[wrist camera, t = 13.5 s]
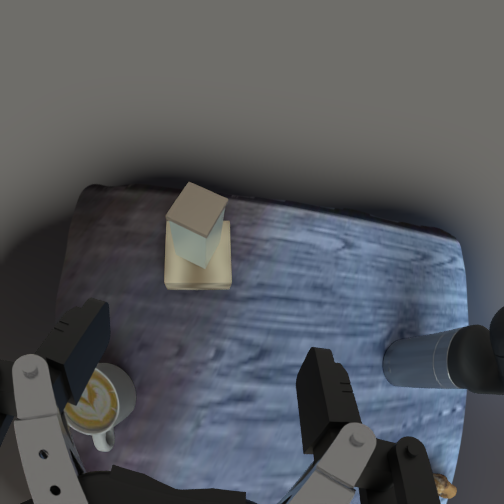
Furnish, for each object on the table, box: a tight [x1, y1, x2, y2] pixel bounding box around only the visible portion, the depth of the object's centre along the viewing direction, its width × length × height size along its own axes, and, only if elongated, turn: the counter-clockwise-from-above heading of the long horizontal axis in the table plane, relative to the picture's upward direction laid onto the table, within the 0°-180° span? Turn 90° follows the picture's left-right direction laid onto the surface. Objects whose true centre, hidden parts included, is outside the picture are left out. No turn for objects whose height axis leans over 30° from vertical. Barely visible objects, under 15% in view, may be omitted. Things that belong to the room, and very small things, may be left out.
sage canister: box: [166, 182, 228, 269], centre depth 40 cm, size 5×5×12 cm
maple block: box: [164, 221, 232, 290], centre depth 48 cm, size 10×10×5 cm
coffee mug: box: [64, 363, 136, 452], centre depth 35 cm, size 13×10×10 cm
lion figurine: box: [433, 473, 457, 498], centre depth 37 cm, size 15×5×9 cm, turn 57°
